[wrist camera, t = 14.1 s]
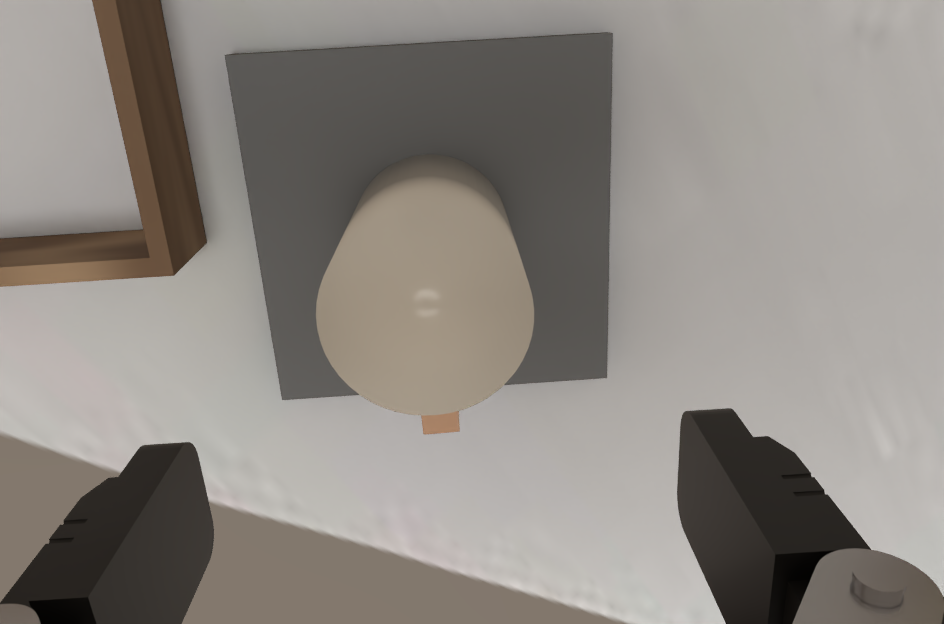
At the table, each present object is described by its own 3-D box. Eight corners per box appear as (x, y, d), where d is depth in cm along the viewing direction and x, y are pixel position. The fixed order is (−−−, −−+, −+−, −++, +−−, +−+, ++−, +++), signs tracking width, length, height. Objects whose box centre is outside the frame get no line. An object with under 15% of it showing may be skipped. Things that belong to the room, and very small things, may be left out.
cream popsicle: (343, 161, 24) (299, 223, 17) (502, 147, 24) (528, 203, 17) (370, 346, 27) (341, 471, 19) (514, 333, 27) (541, 454, 19)
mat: (607, 32, 24) (612, 33, 23) (602, 368, 28) (606, 377, 28) (231, 54, 24) (224, 55, 23) (286, 389, 28) (282, 399, 27)
